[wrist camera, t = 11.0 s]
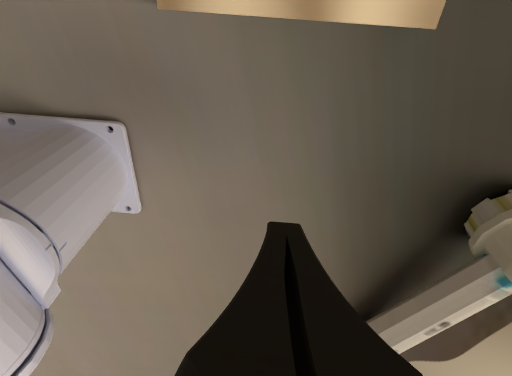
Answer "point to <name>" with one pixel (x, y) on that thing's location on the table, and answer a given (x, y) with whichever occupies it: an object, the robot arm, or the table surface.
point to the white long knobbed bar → (457, 282)
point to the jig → (324, 10)
